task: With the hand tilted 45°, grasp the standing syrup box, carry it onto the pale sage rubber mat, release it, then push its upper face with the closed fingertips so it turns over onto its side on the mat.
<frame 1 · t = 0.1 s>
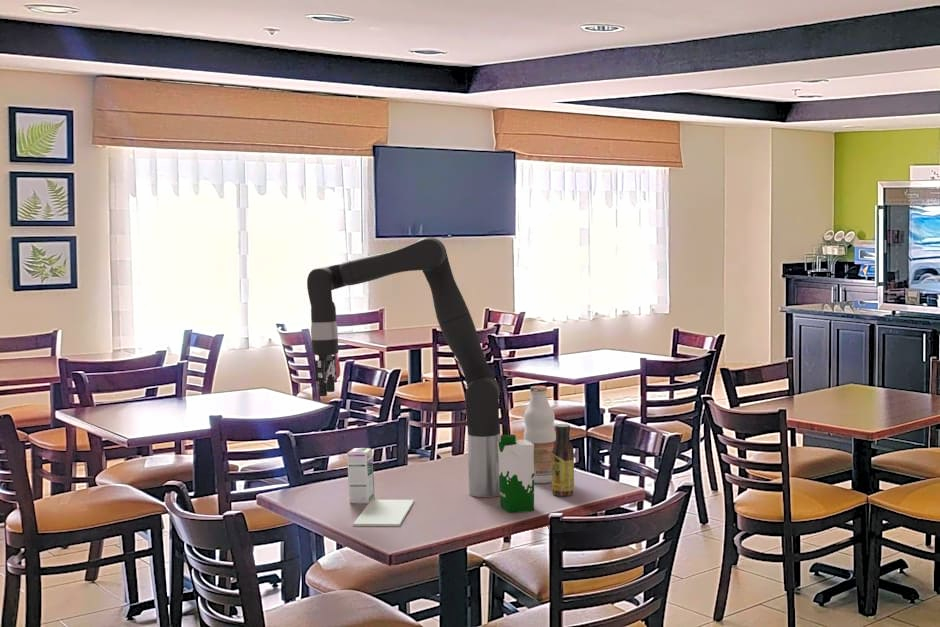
hand: (327, 394, 302), 29 cm above the table, tool pointing down, fingers open, 8 cm apart
syrup box: (361, 501, 295), on the table
mat: (385, 513, 281), on the table
fruit juice: (540, 480, 314), on the table
sauce bottle: (563, 495, 296), on the table
milk carton: (517, 509, 282), on the table
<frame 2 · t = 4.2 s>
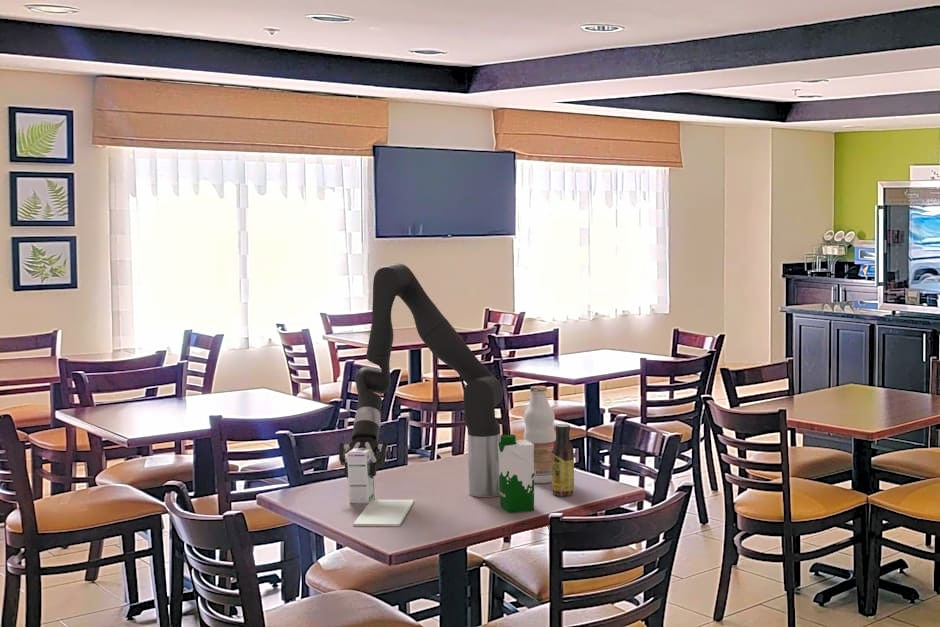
hand: (359, 476, 293), 7 cm above the table, tool tilted 45°, fingers closed on syrup box, 6 cm apart
syrup box: (361, 501, 295), on the table, touching gripper
everything else where it was.
when the fingers open (9 cm above the table, at t = 9.1 s): syrup box stays where it is, resting on mat.
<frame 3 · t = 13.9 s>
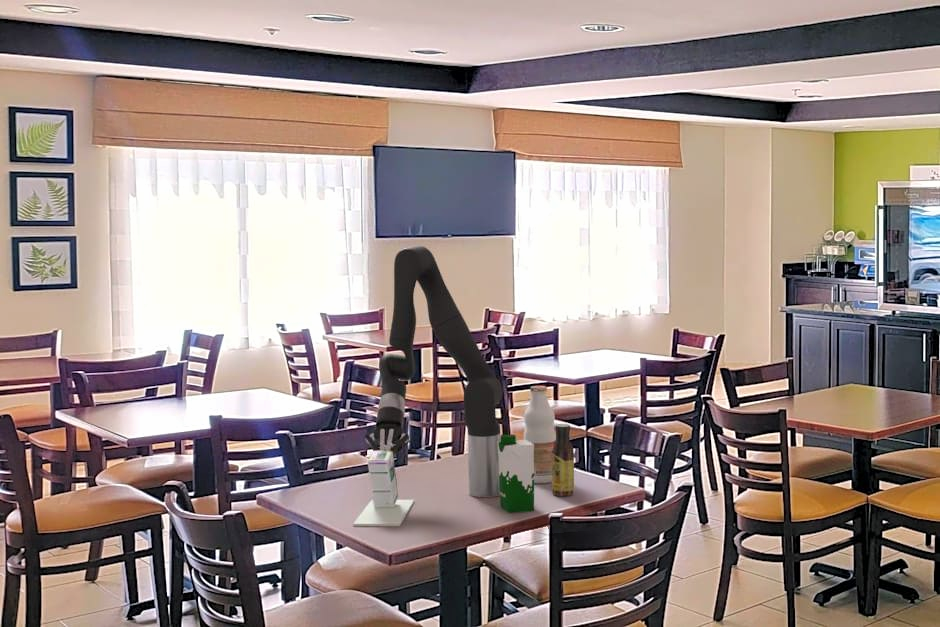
hand: (383, 465, 287), 12 cm above the table, tool tilted 45°, fingers closed
syrup box: (385, 503, 287), point 1 cm above the table, touching gripper, mat
everything else where it was.
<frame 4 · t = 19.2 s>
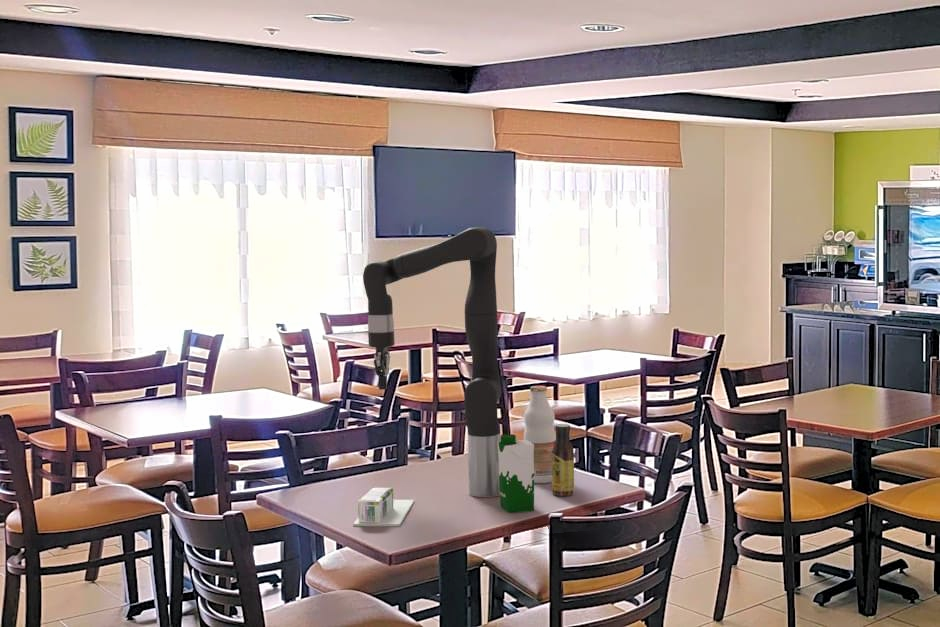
hand: (383, 389, 308), 29 cm above the table, tool pointing down, fingers closed
syrup box: (383, 497, 285), point 3 cm above the table, touching mat
everything else where it was.
at the end: syrup box tilted 90°; syrup box inside the target area (6.5 cm from its centre), point 3.4 cm above the table; the gripper is holding nothing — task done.
